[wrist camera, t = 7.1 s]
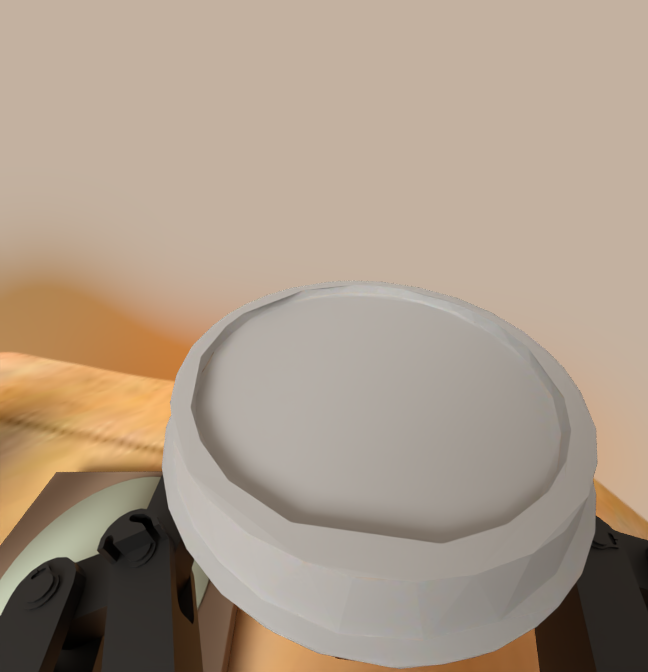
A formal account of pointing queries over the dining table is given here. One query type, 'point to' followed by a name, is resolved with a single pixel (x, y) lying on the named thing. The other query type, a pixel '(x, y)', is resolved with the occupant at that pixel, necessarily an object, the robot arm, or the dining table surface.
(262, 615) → the disposable coffee cup
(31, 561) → the board
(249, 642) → the dining table surface
